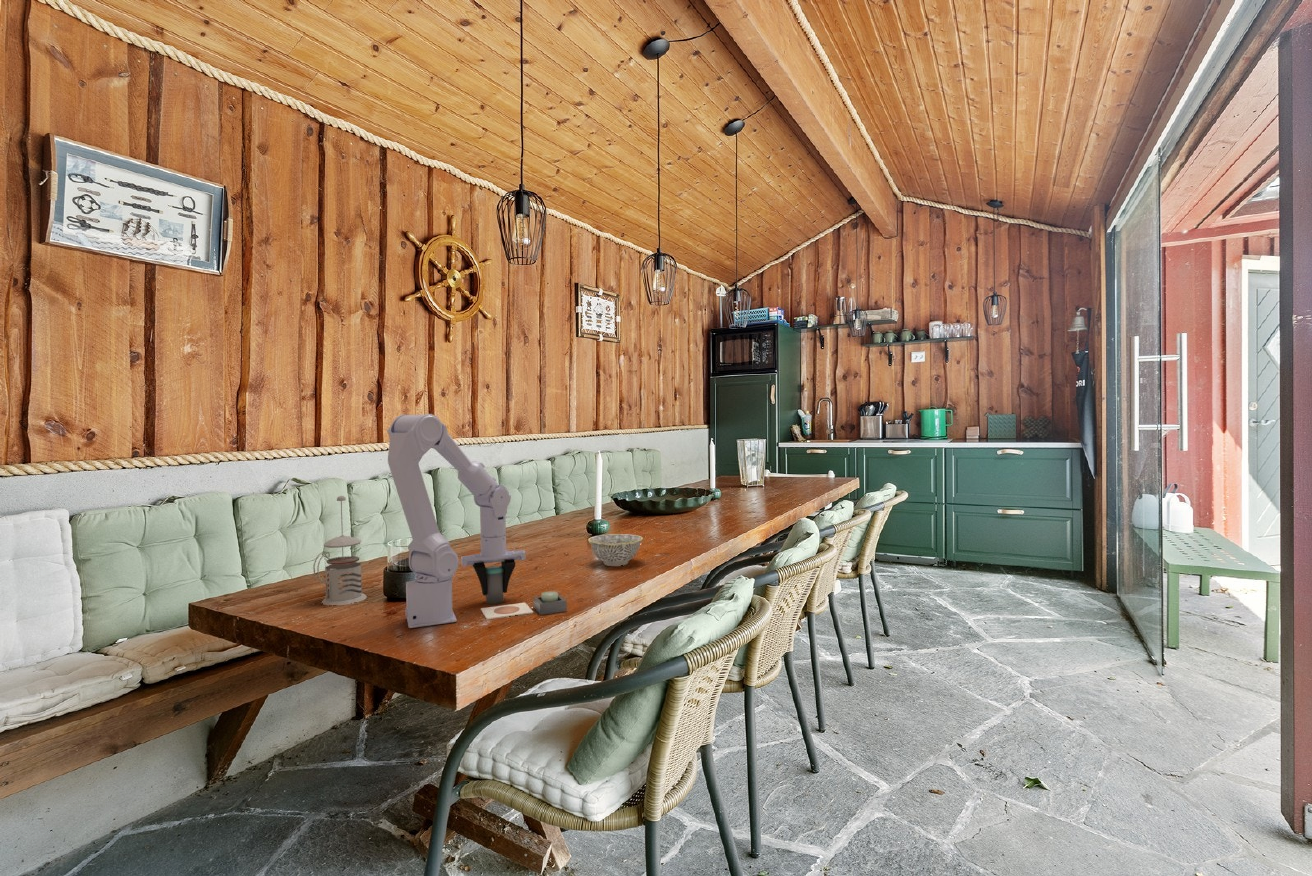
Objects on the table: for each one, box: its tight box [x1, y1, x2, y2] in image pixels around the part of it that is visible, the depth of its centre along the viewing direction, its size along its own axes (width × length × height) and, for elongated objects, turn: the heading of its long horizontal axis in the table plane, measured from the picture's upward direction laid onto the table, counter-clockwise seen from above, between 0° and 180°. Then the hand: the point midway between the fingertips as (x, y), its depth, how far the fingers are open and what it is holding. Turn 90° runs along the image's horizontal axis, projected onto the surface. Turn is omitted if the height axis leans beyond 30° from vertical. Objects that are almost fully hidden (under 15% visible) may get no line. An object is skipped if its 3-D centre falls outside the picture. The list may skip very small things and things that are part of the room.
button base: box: [532, 593, 568, 616], centre depth 143 cm, size 6×6×2 cm
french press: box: [312, 495, 367, 606], centre depth 152 cm, size 10×12×25 cm
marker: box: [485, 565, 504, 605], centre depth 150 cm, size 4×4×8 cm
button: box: [541, 590, 559, 603], centre depth 143 cm, size 4×4×2 cm
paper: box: [480, 602, 534, 621], centre depth 142 cm, size 10×8×1 cm
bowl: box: [587, 533, 644, 567], centre depth 187 cm, size 16×16×8 cm
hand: (494, 593), depth 150 cm, fingers closed on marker, 4 cm apart
